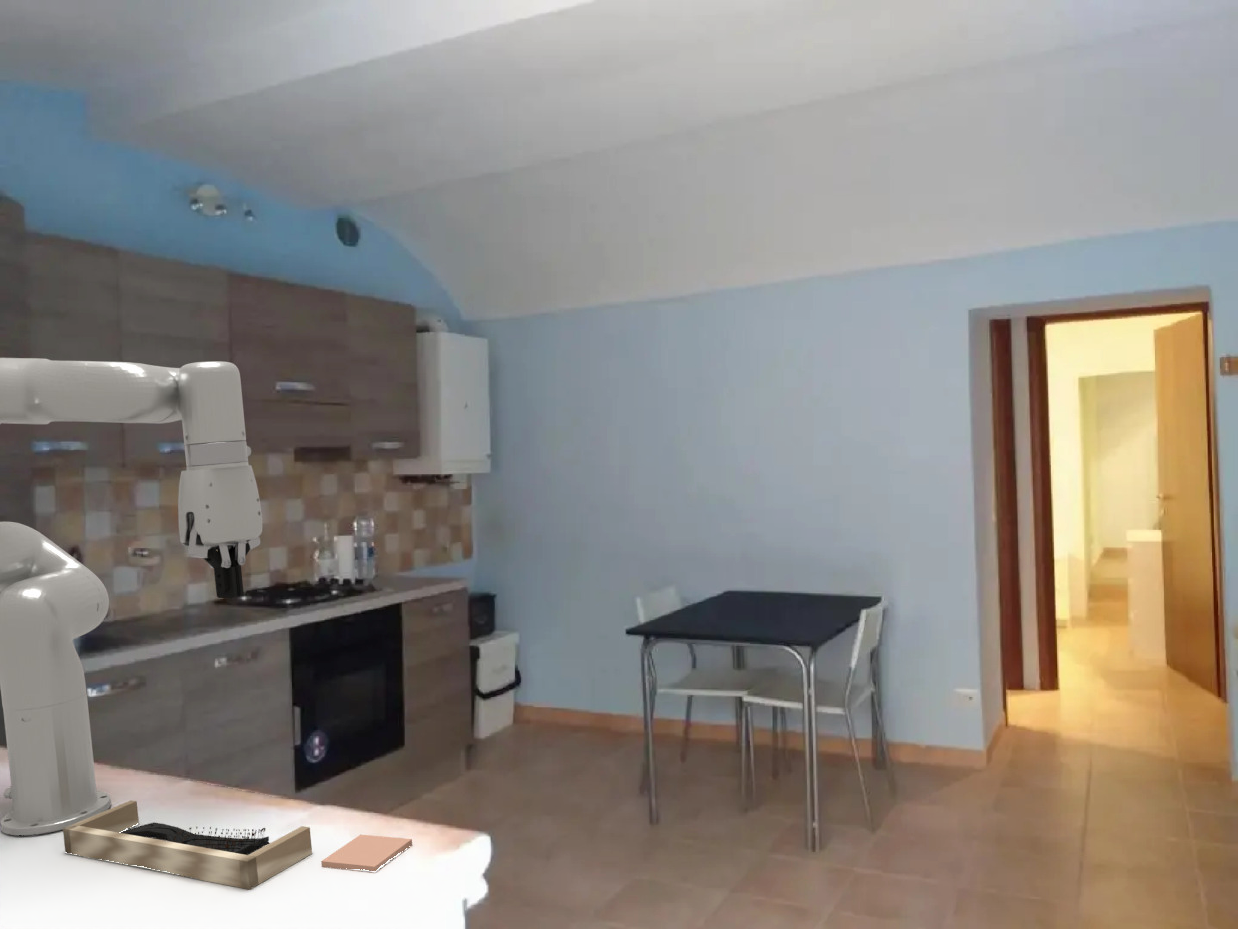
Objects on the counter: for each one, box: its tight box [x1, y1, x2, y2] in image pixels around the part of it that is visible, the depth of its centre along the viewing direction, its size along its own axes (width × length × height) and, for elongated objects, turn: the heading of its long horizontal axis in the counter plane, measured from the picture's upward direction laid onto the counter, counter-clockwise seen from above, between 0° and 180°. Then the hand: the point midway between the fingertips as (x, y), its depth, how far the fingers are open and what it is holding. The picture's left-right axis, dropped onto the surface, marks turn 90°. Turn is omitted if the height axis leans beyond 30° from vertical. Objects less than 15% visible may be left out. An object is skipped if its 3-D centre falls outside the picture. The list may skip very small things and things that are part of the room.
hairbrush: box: [121, 822, 271, 855], centre depth 116 cm, size 8×4×25 cm
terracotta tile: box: [320, 834, 413, 871], centre depth 110 cm, size 7×7×1 cm
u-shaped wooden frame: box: [62, 800, 313, 890], centre depth 114 cm, size 30×9×3 cm, turn 63°
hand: (230, 596), depth 130 cm, fingers closed
